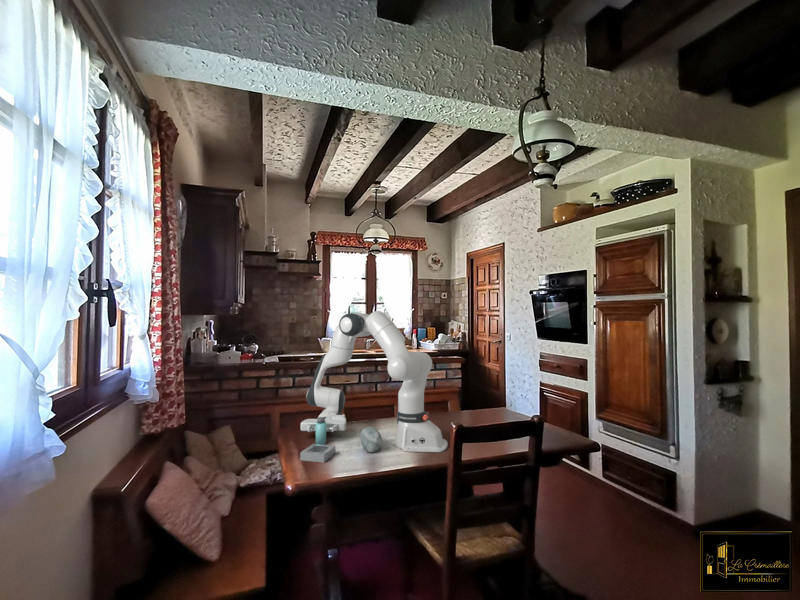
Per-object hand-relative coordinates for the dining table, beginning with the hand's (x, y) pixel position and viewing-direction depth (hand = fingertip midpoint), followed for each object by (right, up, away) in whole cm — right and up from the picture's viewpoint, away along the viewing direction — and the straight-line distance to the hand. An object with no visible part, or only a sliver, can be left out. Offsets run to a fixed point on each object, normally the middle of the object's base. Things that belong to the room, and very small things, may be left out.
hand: (320, 430), depth 168 cm
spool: (+22, -6, -5) cm, 24 cm away
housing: (+2, -6, -14) cm, 16 cm away
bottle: (0, -6, +1) cm, 6 cm away
